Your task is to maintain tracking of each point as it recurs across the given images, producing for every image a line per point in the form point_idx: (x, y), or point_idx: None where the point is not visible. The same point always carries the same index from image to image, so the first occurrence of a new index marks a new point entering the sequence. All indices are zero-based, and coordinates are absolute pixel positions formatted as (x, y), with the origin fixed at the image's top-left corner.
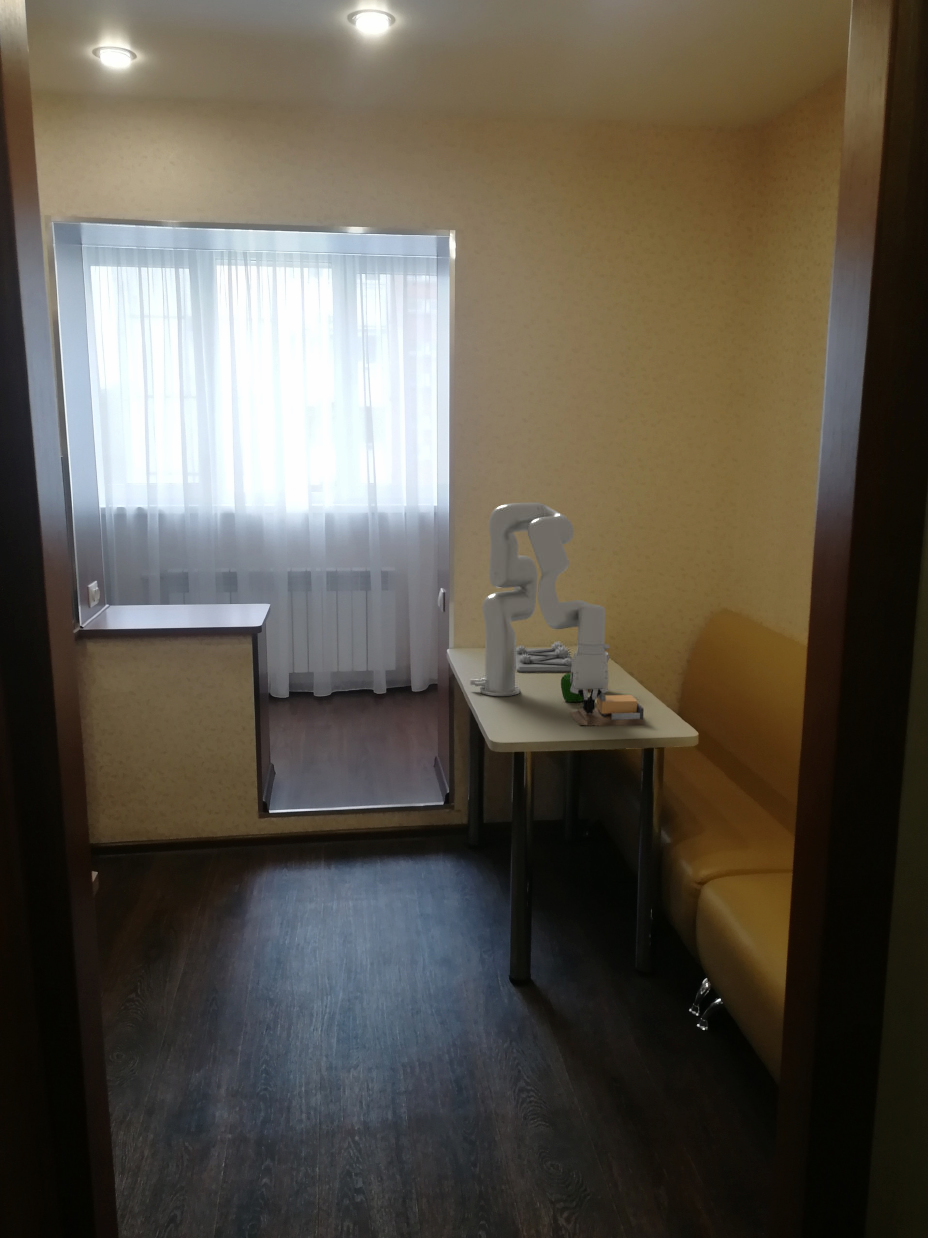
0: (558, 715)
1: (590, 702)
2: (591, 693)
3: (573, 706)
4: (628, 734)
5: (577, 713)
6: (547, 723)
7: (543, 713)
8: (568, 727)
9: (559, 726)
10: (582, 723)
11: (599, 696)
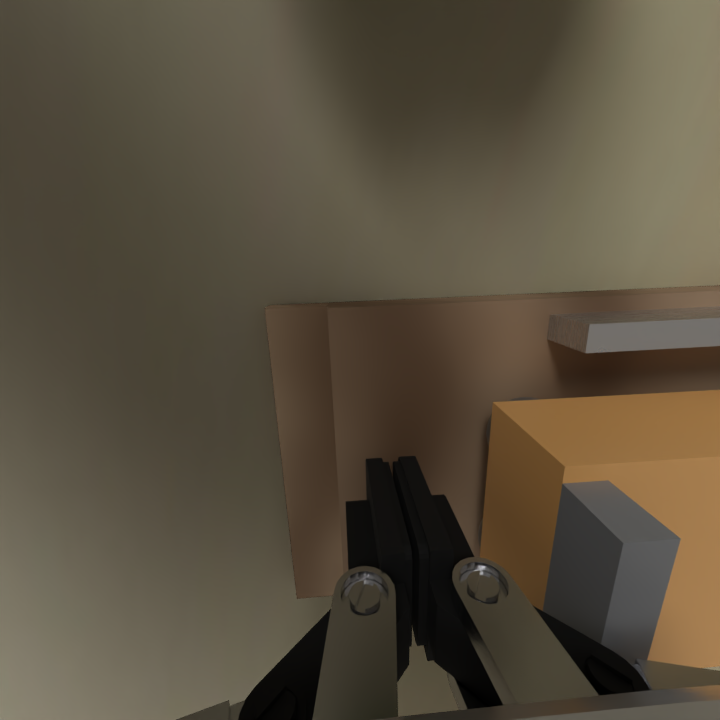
0: (158, 340)
1: (413, 625)
2: (478, 638)
3: (330, 23)
4: None
5: (315, 371)
6: (73, 531)
7: (16, 275)
8: (220, 600)
9: (161, 585)
10: (312, 594)
11: (564, 606)
